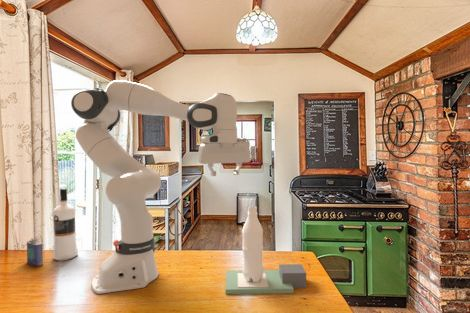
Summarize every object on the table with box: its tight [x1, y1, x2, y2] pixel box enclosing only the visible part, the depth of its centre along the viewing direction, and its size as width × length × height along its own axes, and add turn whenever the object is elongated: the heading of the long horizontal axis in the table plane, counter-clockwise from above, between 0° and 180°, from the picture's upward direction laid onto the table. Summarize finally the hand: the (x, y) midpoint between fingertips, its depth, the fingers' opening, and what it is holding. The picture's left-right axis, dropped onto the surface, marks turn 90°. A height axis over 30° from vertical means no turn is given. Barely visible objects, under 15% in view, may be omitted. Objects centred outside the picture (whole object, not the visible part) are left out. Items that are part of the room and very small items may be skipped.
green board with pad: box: [225, 263, 307, 295], centre depth 100 cm, size 27×14×5 cm, turn 90°
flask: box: [26, 237, 44, 267], centre depth 119 cm, size 9×3×11 cm, turn 61°
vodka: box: [52, 188, 79, 261], centre depth 125 cm, size 9×9×30 cm
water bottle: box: [241, 205, 264, 282], centre depth 99 cm, size 7×7×25 cm
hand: (225, 175), depth 107 cm, fingers open, 8 cm apart
